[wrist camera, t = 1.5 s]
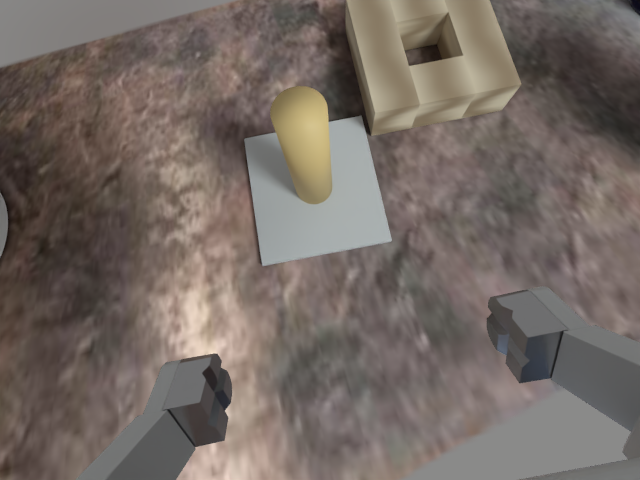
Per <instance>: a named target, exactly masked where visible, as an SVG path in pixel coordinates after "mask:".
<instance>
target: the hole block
mask: <svg viewBox="0 0 640 480" xmlns="http://www.w3.org/2000/svg"><path fill="white" fill-rule="evenodd" d="M345 31H346V35H347V39H348V43H349V47H350V51H351V55H352V60H353V64H354V68H355V72H356V76H357V80H358V84H359V88H360V92H361V96H362V100H363V104H364V108H365V113H366V117H367V121H368V125H369V129H370V133H371V136H374V135H379V134H384V133H389V132H394V131H400V130H405V129H410V128H415V127H420V126H425V125H430V124H435V123H440V122H445V121H451V120H456V119H461V118H466V117H471V116H476V115H481V114H486V113H491V112H497V111H501V110H502V109H503V108H504V106H505V105H506V104H507V102H508V101H509V100H510V99H511V97H512V96H513V95H514V93H515V92H516V91H517V90H518V88H519V87H520V86H521V81H520V79H519V76H518V74H517V71H516V68H515V66H514V63H513V60H512V58H511V55H510V53H509V50H508V47H507V45H506V42H505V40H504V37H503V34H502V32H501V29H500V27H499V24H498V21H497V19H496V16H495V13H494V11H493V8H492V6H491V3H490V0H346V20H345ZM435 44H437V46H438V49H439V52H440V55H441V58H442V60H438V61H433V62H428V63H423V64H418V65H413V66H409V64H408V61H407V58H406V54H405V50H410V49H415V48H420V47H425V46H430V45H435Z"/></svg>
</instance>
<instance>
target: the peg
mask: <svg viewBox="0 0 640 480" xmlns="http://www.w3.org/2000/svg"><path fill="white" fill-rule="evenodd" d="M270 114H271V120H272V123H273V126H274V129H275V131H276V134H277V137H278V140H279V143H280V146H281V149H282V152H283V154H284V157H285V160H286V163H287V166H288V169H289V172H290V175H291V178H292V180H293V183H294V186H295V189H296V192H297V194H298V196H299V198H300V199H301V200H302V201H304V202H306V203H308V204H319V203H322V202H324V201H325V200H326V199H328V197H329V196H330V194H331V192H332V172H331V155H330V139H329V123H328V108H327V103H326V101H325V99H324V97H323V96H322V95H321V94H320V93H319V92H318V91H316V90H314V89H312V88H310V87H305V86H296V87H292V88H289V89H286V90H284V91H283V92H281V93H280V94H279V95H278V96H277V97H276V98H275V100H274V102H273V103H272V106H271V112H270Z"/></svg>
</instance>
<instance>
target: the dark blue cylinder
mask: <svg viewBox="0 0 640 480" xmlns="http://www.w3.org/2000/svg"><path fill="white" fill-rule="evenodd" d="M628 1H629V3H630V4H631V6H632V7H633V8H634V9H635V11H636V12H637V13H639V14H640V0H628Z"/></svg>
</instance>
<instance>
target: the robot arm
mask: <svg viewBox="0 0 640 480" xmlns="http://www.w3.org/2000/svg"><path fill="white" fill-rule="evenodd" d="M7 231H8V214H7V208H6V204H5V201H4V199H3V196H2V194H1V192H0V257H1V255H2V252H3V249H4V246H5V242H6V238H7ZM488 308H489V309H490V311H491V312H492V313H491V314H490V316H489V317H488V318H487V330H488V334H489V337H490V339H491V341H492V343H493V345H494V347H495V348H496V350H497V351H499V352H501V353H503V354H505V355H507V356H506V364H507V366H508V367H509V369H510V370H511V372H512V373H513V375H514V376H515V377H516V379H517V380H518V382H519V383H525V382H531V381H537V380H543V379H549V378H552V379H551V380H552V381H554V382H555V383H557V384H559V385H560V386H562V387H563V388H565V389H566V390H568V391H569V392H571V393H572V394H574V395H575V396H577V397H579V398H580V399H582V400H583V401H585V402H586V403H588V404H589V405H591V406H592V407H594V408H595V409H597V410H599V411H600V412H602V413H603V414H605V415H606V416H608V417H609V418H611V419H612V420H614V421H615V422H617V423H618V424H620V425H622V426H623V427H625V428H626V429H628V430H629V431H631V433H630V435H629V437H628V439H627V441H626V443H625V445H624V448H623V453H624V455H625V456H626V457H627V459H628V460H623V461H617V462H612V463H606V464H601V465H595V466H590V467H585V468H579V469H574V470H568V471H563V472H557V473H552V474H547V475H541V476H536V477H530V478H525V479H519V480H640V343H639V342H637V341H634V340H632V339H629V338H627V337H624V336H622V335H619V334H617V333H614V332H612V331H609V330H606V329H604V328H601V327H599V326H596V325H594V326H589V325H588V324H587V323H586V322H585V321H584V320H583V319H582V318H581V317H579V316H578V315H577V314H576V313H575V312H574V311H573V310H572V309H571V308H570V307H569V306H568V305H567V304H565V303H564V302H563V301H562V300H561V299H560V298H559V297H558V296H557V295H556V294H555V293H554V292H553V291H551V290H550V289H549V288H548V287H545V286H541V287H536V288H532V289H527V290H522V291H517V292H513V293H508V294H503V295H499V296H494V297H491V298H490V299H489V302H488ZM221 362H222V361H221V359H220V357H219V356H218V354H209V355H203V356H198V357H192V358H186V359H182V360H177V361H171V362H166V363H165V364H164V365H163V366H162V368H161V370H160V373H159V375H158V378H157V380H156V383H155V385H154V388H153V390H152V393H151V395H150V398H149V400H148V403H147V405H146V408H145V410H144V413H143V415H139V416H137V417H136V418H135V419H134V420H133V421H132V422H131V423H130V424H129V425H128V426H127V427H126V428H125V429H124V430H123V431H122V433H121V434H120V435H119V436H118V437H117V438H116V439H115V440H114V441H113V442H112V443H111V444H110V445H109V446H108V447H107V448H106V449H105V450H104V451H103V452H102V453H101V454H100V455H99V456H98V457H97V458H96V459H95V460H94V461H93V462H92V463H91V464H90V465H89V467H88V468H87V469H86V470H85V471H84V472H83V473H82V474H81V475H80V476H79V477H78V478H77V479H76V480H176V479H177V477H178V476H179V474H180V472H181V471H182V469H183V468H184V466H185V465H186V463H187V462H188V460H189V458H190V457H191V455H192V454H193V452H194V451H195V447H198V446H202V445H207V444H211V443H216V442H220V441H224V440H225V434H226V428H227V422H228V416H227V414H226V413H225V410H226V408H227V407H228V406H229V404H230V403H231V397H232V383H231V379H230V376H229V374H228V372H227V371H226V370H224V369H222V368H221Z"/></svg>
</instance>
